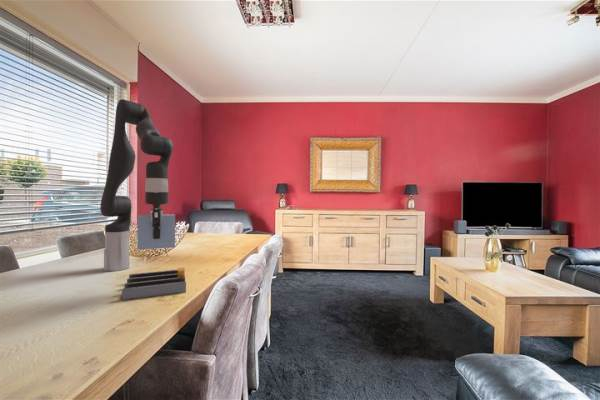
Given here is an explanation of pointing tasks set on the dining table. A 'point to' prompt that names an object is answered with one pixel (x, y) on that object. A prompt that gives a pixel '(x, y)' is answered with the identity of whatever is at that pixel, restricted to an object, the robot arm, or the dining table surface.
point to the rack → (154, 284)
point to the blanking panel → (147, 232)
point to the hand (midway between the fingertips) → (156, 237)
